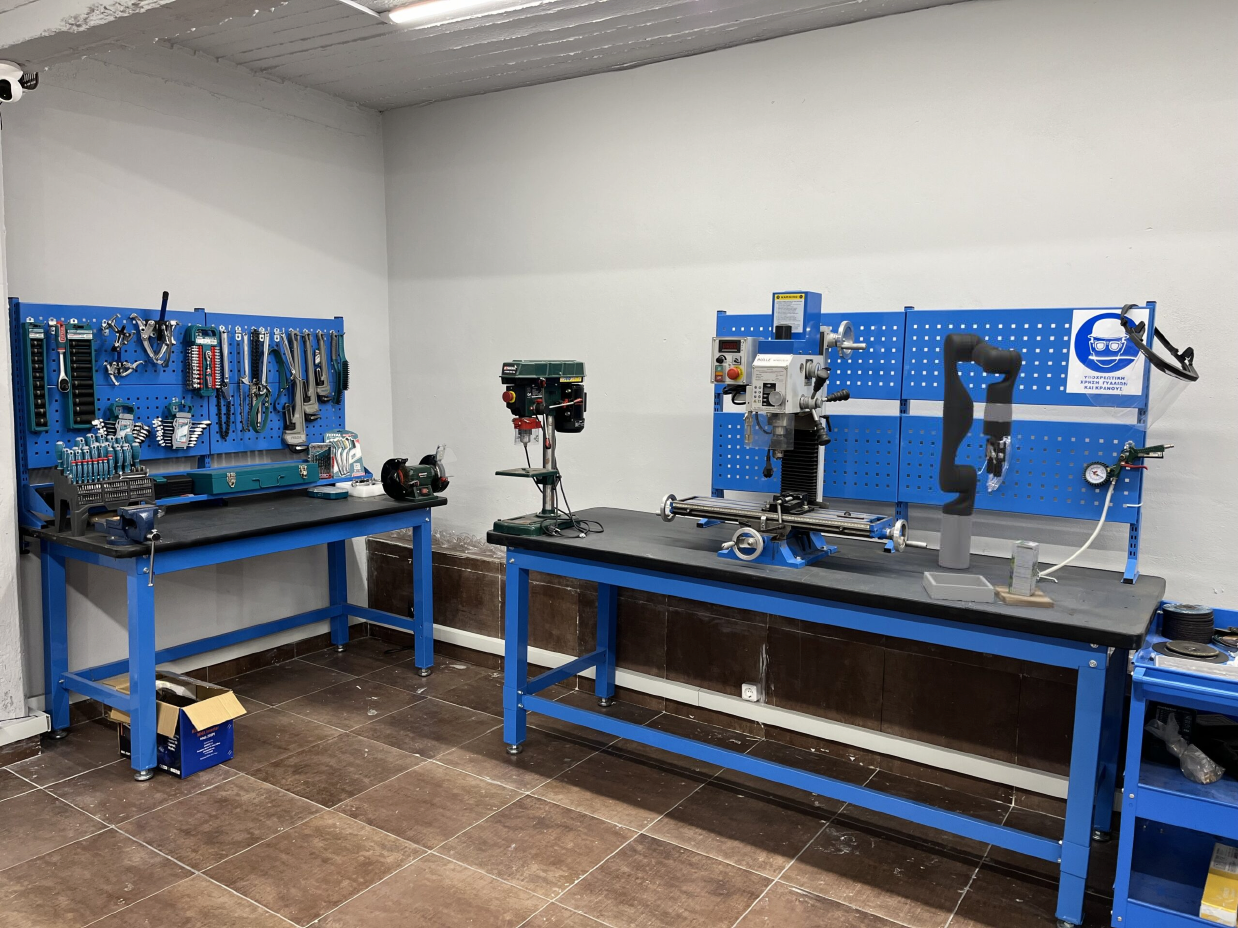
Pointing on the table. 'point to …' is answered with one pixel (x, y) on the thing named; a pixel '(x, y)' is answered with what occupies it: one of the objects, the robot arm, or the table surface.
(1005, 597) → the board
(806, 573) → the table surface
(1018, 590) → the syrup box
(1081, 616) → the table surface
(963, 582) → the parts tray
